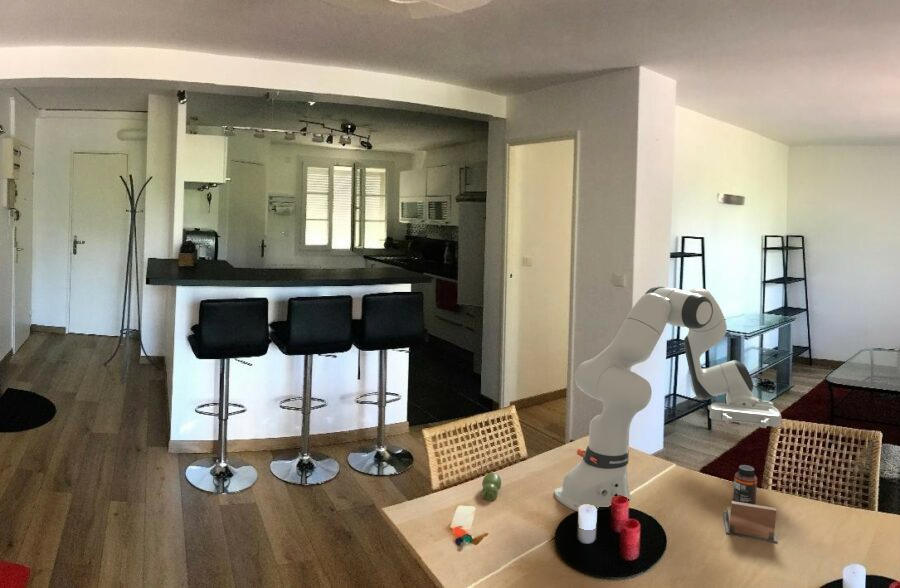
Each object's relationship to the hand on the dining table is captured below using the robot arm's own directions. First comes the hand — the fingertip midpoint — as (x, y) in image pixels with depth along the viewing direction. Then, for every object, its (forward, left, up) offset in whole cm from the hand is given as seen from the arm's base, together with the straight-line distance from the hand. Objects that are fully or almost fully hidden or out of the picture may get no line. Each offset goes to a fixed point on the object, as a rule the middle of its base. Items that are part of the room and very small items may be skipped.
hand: (746, 423), depth 186 cm
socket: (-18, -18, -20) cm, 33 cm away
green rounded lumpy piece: (-73, +27, -21) cm, 80 cm away
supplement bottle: (-9, -8, -21) cm, 24 cm away
